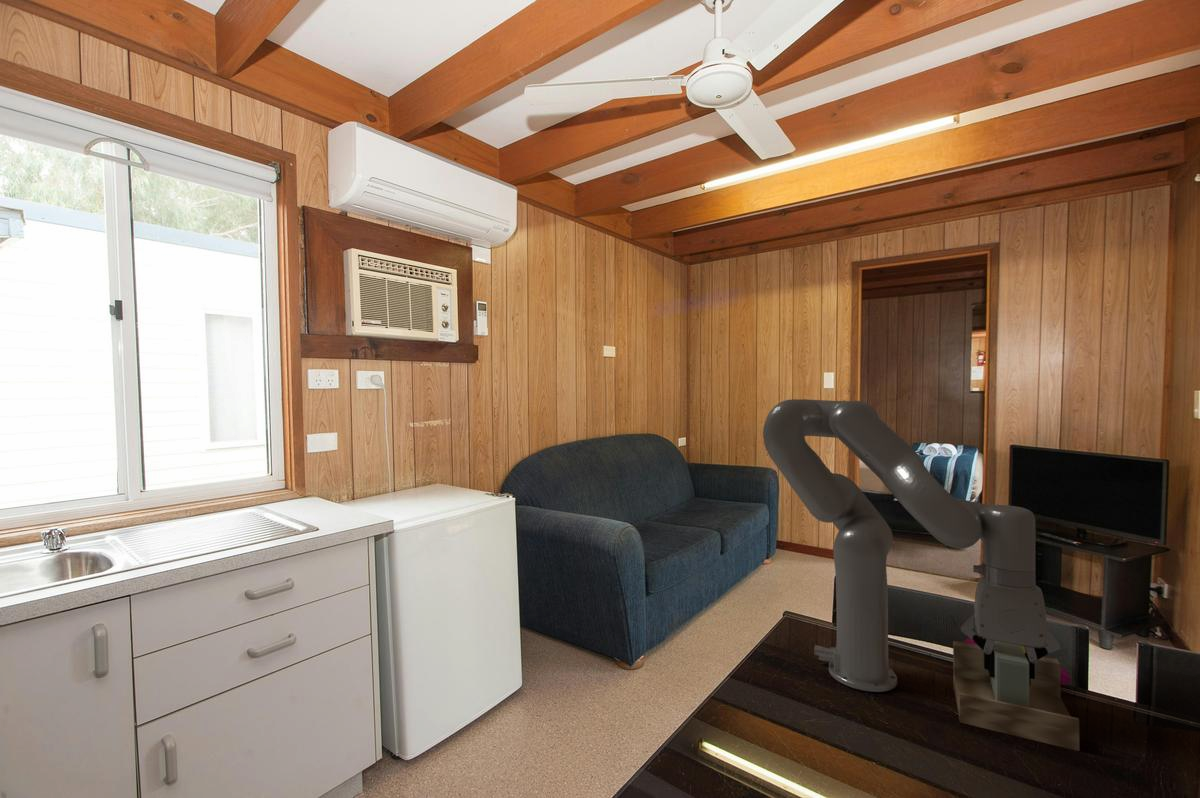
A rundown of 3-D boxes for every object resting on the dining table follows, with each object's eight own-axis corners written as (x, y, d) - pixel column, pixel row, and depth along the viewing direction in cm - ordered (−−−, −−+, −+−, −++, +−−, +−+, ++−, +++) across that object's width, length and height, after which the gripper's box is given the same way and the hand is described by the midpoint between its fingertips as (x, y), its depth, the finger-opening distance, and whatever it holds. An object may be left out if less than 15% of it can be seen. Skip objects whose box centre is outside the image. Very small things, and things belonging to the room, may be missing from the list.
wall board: (960, 722, 94) (959, 671, 94) (953, 686, 106) (953, 640, 106) (1079, 751, 86) (1078, 695, 86) (1057, 708, 98) (1057, 659, 98)
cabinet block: (997, 703, 93) (997, 657, 93) (990, 680, 101) (990, 637, 101) (1029, 711, 91) (1029, 663, 91) (1019, 686, 99) (1019, 643, 99)
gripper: (953, 574, 97) (954, 675, 97) (1075, 590, 89) (1076, 701, 89) (950, 563, 104) (951, 657, 104) (1064, 577, 95) (1064, 680, 95)
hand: (1008, 676), depth 96 cm, fingers closed on cabinet block, 4 cm apart
